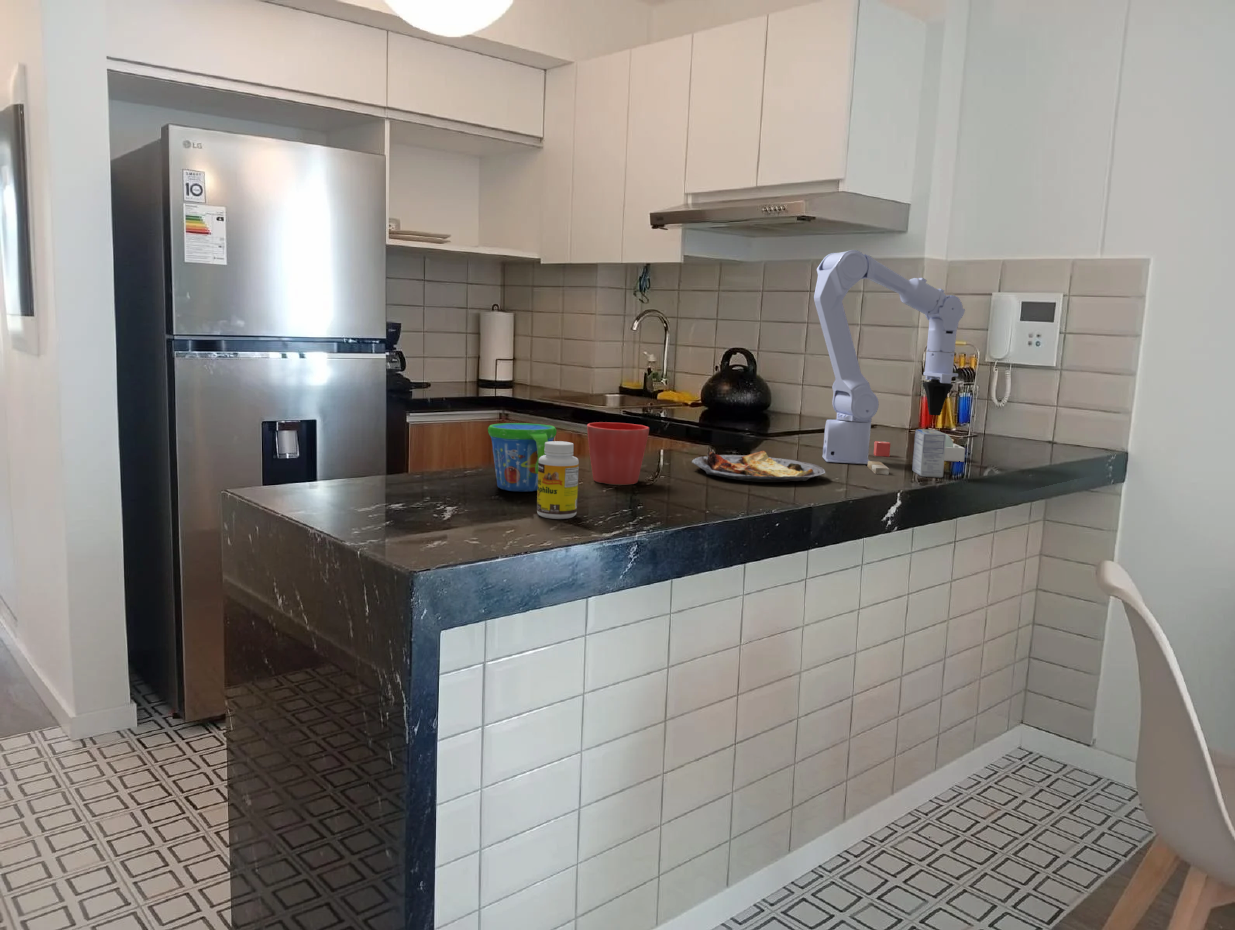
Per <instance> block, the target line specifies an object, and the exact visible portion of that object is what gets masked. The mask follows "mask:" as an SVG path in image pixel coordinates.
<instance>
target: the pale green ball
mask: <svg viewBox="0 0 1235 930" xmlns="http://www.w3.org/2000/svg"><path fill="white" fill-rule="evenodd" d="M943 433H944V432H943ZM944 434H946V443H945V447H953V444H954V441H953V439H952V437H950V435H948V434H947V433H944Z"/></svg>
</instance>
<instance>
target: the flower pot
mask: <svg viewBox="0 0 1235 930" xmlns="http://www.w3.org/2000/svg"><path fill="white" fill-rule="evenodd" d="M586 432H587V440H588V441H587V443H588V451H589V458H590V467H591V472H592V473H591V474H592V480H593V481H594V482H596V483H599V484H606V485H610V486H611V485H614V486H615V485H616V486H627V485H634V484H637V483H638V482H639V478H640V473H641V470H642V464H643V461H644V455H645V452H646V447H647V443H648V439H649V438H648V437H649V433H650V427H649V426H646V425H643V424H634V423H626V422H607V421H605V422H603V421H599V422H597V421H596V422H589V423H587V425H586Z"/></svg>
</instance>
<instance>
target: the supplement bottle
mask: <svg viewBox="0 0 1235 930" xmlns="http://www.w3.org/2000/svg"><path fill="white" fill-rule="evenodd" d="M574 447H575V446H574V443H573V442H569V441H562V440H559V441H558V440H557V441H556V440H553V441H550V442H545V449H544V451H545V452H544V453H545V454H546V455H543V456H541V457H540V458H539V462H538V489H537V491H536V493H537V495H536V497H537V498H536V512H537V515H538V516H540V517H542V518H545V519H551V520H565V519H572V518H574V517H575V516H576V515H577V512H578V511H577V510H578V493H579V492H578V491H579V488H578V487H579V465H580V463H579V458H578V457H576V456H574Z"/></svg>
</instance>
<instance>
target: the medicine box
mask: <svg viewBox="0 0 1235 930" xmlns="http://www.w3.org/2000/svg"><path fill="white" fill-rule="evenodd" d="M946 434H947V433H945V434H944V432H941V431H940V430H938V429H926V428H925V429H923V428H921V429H915V432H914V441H913V442H914V443H913V453H912V454H913V456H912V467H911V468H912V471H913V472H914V473H915V474H917V475H918V476H919V477H923V478H936V479H937V478H940V479H942V478H943V477H944V470H945V469H944V467H945V461H944V456H945V443H946Z"/></svg>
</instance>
